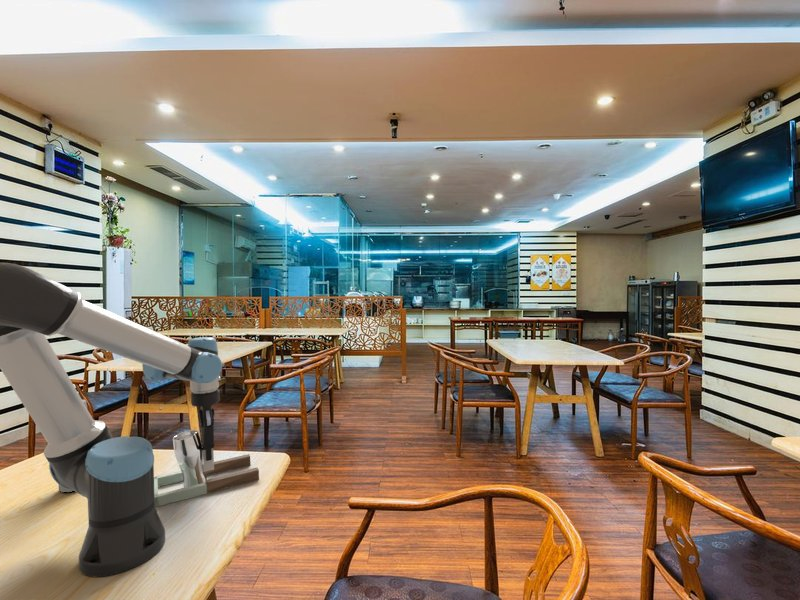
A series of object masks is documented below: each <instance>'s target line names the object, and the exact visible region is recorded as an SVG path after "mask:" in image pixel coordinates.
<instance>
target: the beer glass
mask: <svg viewBox="0 0 800 600" xmlns="http://www.w3.org/2000/svg"><path fill="white" fill-rule="evenodd" d="M200 436H201V435H200V434H199V430H197V429H189V430H185V431H183V432H180V433H178V434H175V436H173V438H172V443H173V451H174V457H175V461H176V462H177V464H178V467H179V468H180V471H182V474H183V479H184V481H183V488H185V487H189V486H193V485H197V484H201V483H205V482H206V480H207V479H208V478H207V476H206V475H205V473H204V470H203V451H201V449H202V448H203V446H202V442H201V440H202V439H201V437H200Z"/></svg>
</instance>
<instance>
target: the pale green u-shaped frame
mask: <svg viewBox="0 0 800 600" xmlns="http://www.w3.org/2000/svg"><path fill="white" fill-rule="evenodd" d="M180 482H184V479H183V474H182V471H181V470H180V471H176V472H172V473H171V472H170V473H167V474H163V475H157V476H154V501H155V508H157V507H160V506H163V505H168V504H171V503H176V502H178V501H183V500H186V499H191V498H196V497H198V496H202V495H205V494H207V495H208V493H207V484H206V482H205V483H201V484H197V485H193V486H189V487H185V488H184V487H181V488H177V489H175V490H173V489H172V490H170V491H165V492H161V493H159V488H160V487H164V486H167V485H172V484H175V483H180Z"/></svg>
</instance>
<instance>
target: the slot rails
mask: <svg viewBox="0 0 800 600" xmlns="http://www.w3.org/2000/svg"><path fill="white" fill-rule="evenodd" d="M249 466H251V455H250V453H247V454H244V455H239V456H234V457H230V458H225V459H221V460H216V461H214V470H210V471H206V472H204V473H205V475H206V477H208V476H213V475H215V474H216V475H217V474H220V473H223V472H224V473H225V472H229V471H233V470H237V469H241V468H245V467H249ZM203 470H204V469H203ZM259 480H260V471H259V468H258V467H253V468H250V469H245V470H241V471H237V472H234V473H233V472H232V473H228V474H224V475H220V476H217V477H211V478H207V480H206V484H207V494H210V493H213V492H218V491H222V490H226V489H229V488H232V487H233V488H234V487H237V486H240V485H244V484H248V483H253V482H256V481H259Z"/></svg>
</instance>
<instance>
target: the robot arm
mask: <svg viewBox="0 0 800 600" xmlns="http://www.w3.org/2000/svg"><path fill="white" fill-rule="evenodd" d="M53 335H54V336H55V335H61V336H63V337H67V338H69V339H72V340H75V341H78V342H80V343H84V344H87V345H89V346H92V347H95V348H98V349H101V350H103V351H105V352H109V353H111V354H115V355H118V356H120V357H123V358H126V359H129V360H131V361H134V362H137V363H140V364H142V372H143V374H144V377H145V378H146V379H147V380H149V381H152V382H154V381H163V380H165V379H166V380H167V379H174V380H179V381H188V382H189V390H190V391H191V394H190V404H191V405H192V406H193V407H197V408H198V407H200V409H198V410H197V413H198V419H199V425H200V431H201V432H200V436H201V437H200V438H201V439H200V440H201V444H202V449H201V451H203V469H204V472H206V471H210V470H214V462H215V458H214V456H215V455H214V448H215V444H216V443H215V439H214V436H215V435H214V431H215V429H214V425H215V409H214V407H212V406H213V405H216V404H218V403H219V402H220V401H221V399H220V398H221V397H220V395H221V394H220V389H219V387H220V384H219V383H220V382H219V381H221V379H222V377H221V376H220V375H221V372H222V370H223V362H222V359H221V358H220V357H219V350H218V343H217V339H216V338H215V337H212V336H203V337H202V336H201V337H194V338H189V340H188V344H185V343H182V342H180V341H179V340H176V339H173V338H171V337H169V336H166V335H164V334H162V333H159V332H158V331H155V330H152V329H150V328H148V327H147V326H143V325H141V324H139V323H137V322H134V321H133V320H131V319H127V318H126V317H123V316H121V315H118V314H116V313H114V312H112V311H109V310H107V309H105V308H102V307H100V306H98V305H96V304H94V303H91V302H89V301H86V300H84V299H82V297H81V293H80V291H77V290H76V289H73V288H70V287H68V286H66V285H64V284H62V283H60V282H59V281H56V280H54V279H52V278H50V277H48V276H46V275H43V274H41V273H39V272H38V271H35V270H33V269H30V268H28V267H26V266H23V265H20V264H17V263H9V262H0V370H1V372H2V374H3V375H4V377H5V378H6V380H7V382H8V383H9V385H10V386H11V387H12V389H13V391H14V392H15V393H14V394H16V396H17V397H18V399H19V400H20V402H21V403H22V405H23V407H24V408H25V409H26V411H27V413H28V415H29V416H30V418H31V419H32V421H33V423H34V424H35V425H36V427H37V428H38V430H39V431H40V433H41V435H42V436H43V438H44V439H45V441H46V442H47V445H46V446H45V448H44V450H43V456H44V457H45V459H46V460H47V462H48V463H49V464H48V467H49V473H50V476H51V478H53V480H54V482H56V483H57V485H58V486H59V485H61V486H62V487H64V488H67V489H71V490H73V491H75V492H74V493H77V494H79V495H81V496H82V497H84V498H85V499H87V512H88V513H87V514H88V515H87V517H88V528H87V529H86V534H85V536H84V540H83V543H82V544H81V545H82V546H81V549H80V552H79V556H78V568H79V569H80V570H79V571H81V572H82V573H81V572H80V573H81V574H83V575H84V574H85V575H84V576H87V575H88V577H93V576H100V577H107V576H108V577H109V576H113V575H117V574H119V573H123V572H124V573H125V572H127V571H128V570H132V569H135V568H136V567H139V566H140V565H142V564H143V563H145V562H147V561H149V560H150V559H151V558H153V557H154V556H156V555H157V554H158V553H159V552H160V550H162V548H163V547H164V545H165V543H166V530H165V527H164V525H163V523H162V521H161V518H160V516H159V514H158V512H157V509H156V507H155V501H154V477H155V471H154V469H155V467H154V463H155V455H154V451H153V445H152V444H151V442H150V441H149V440H148V439H146V438H144V437H140V436H130V437H129V435H126V436H117V437H116V436H115V437H113V435H112V432H111V431H110V430H109V428H108V426H107V424H106V423H105V422H104V421H103V420H95V419H94V418H93V416H92V415H91V413H90V411H89V410H88V407H87V408H86V406H85V404H84V403H83V401H82V400H83V399H82V397H81V396H80V394H79V392H78V391H77V389H76V386H75V385H74V384H73V382H72V380H71V378H70V377H69V375H68V373H67V372H66V370H65V369H64V367H63V364H62V363H61V362H60V361H61V360H60V359H59V357H58V356H57V354H56V352H55V351H54V349H53V348H52V345H51V344H50V341H48V339H47V337H46V336H49V337H51V336H53ZM91 416H92V417H91Z"/></svg>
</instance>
